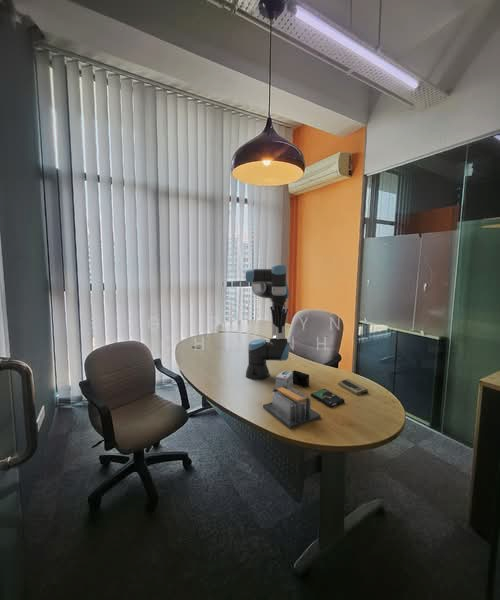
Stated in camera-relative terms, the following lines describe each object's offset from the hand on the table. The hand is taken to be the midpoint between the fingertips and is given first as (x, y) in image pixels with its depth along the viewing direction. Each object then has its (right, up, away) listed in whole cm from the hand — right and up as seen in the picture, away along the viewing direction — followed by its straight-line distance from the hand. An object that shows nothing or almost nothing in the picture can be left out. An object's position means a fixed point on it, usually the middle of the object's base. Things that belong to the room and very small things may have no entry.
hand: (278, 338), depth 148 cm
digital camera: (+14, -31, +19) cm, 39 cm away
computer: (+44, -31, +13) cm, 56 cm away
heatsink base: (+4, -34, -14) cm, 37 cm away
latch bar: (+4, -26, -14) cm, 30 cm away
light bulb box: (+4, -32, +9) cm, 33 cm away
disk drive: (+26, -33, 0) cm, 42 cm away
